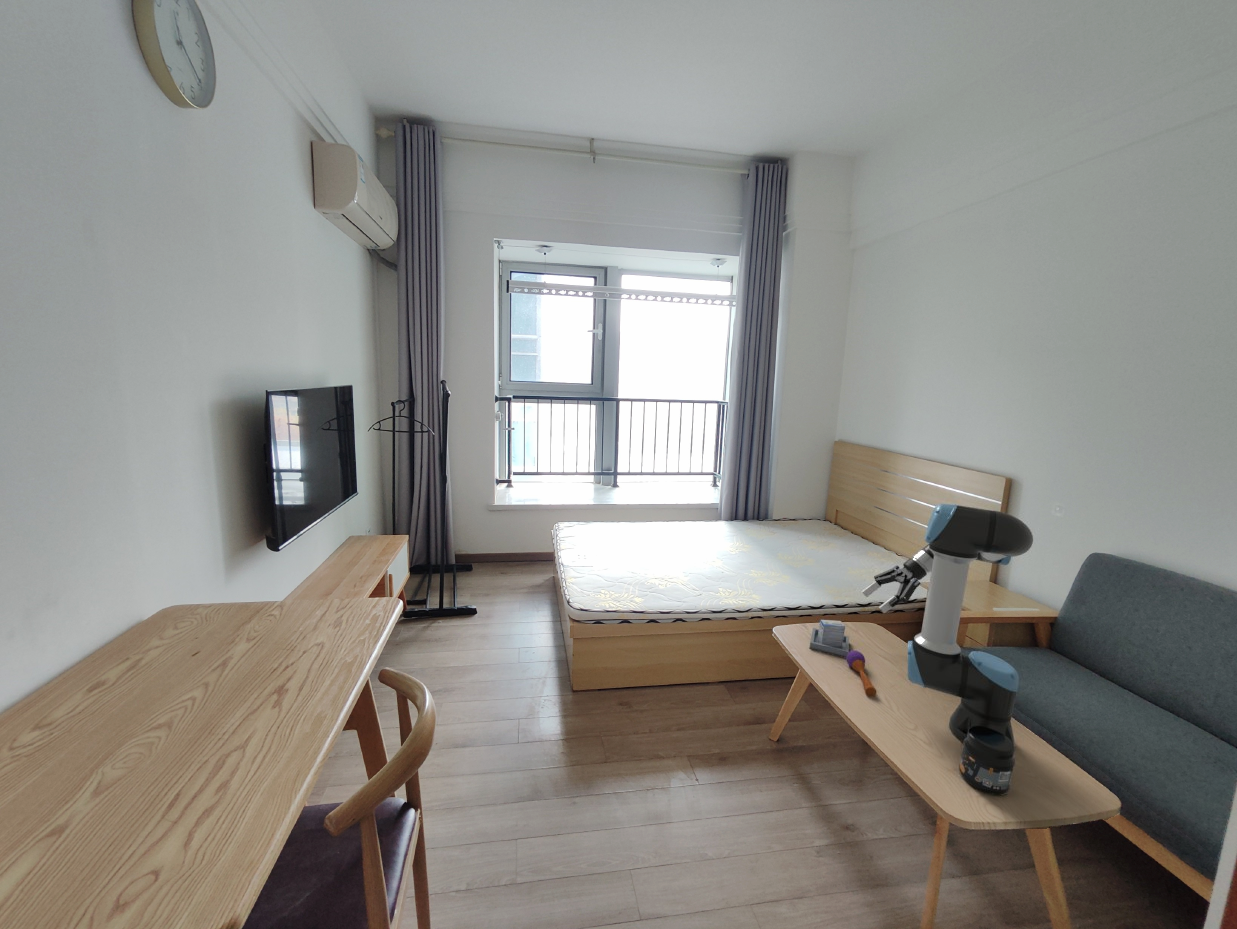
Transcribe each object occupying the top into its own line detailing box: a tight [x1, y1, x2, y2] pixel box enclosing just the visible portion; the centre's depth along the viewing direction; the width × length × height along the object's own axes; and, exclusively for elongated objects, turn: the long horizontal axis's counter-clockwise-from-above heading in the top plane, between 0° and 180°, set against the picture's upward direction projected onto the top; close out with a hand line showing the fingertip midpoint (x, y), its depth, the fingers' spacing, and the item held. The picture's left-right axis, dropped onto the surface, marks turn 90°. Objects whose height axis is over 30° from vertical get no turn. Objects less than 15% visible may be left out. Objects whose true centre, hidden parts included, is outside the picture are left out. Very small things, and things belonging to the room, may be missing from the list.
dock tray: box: [809, 627, 850, 658], centre depth 193 cm, size 13×13×2 cm
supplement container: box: [958, 726, 1016, 796], centre depth 128 cm, size 10×10×12 cm
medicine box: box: [818, 619, 846, 647], centre depth 192 cm, size 8×4×9 cm, turn 88°
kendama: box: [845, 650, 877, 697], centre depth 172 cm, size 6×6×20 cm
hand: (872, 602), depth 189 cm, fingers open, 13 cm apart
